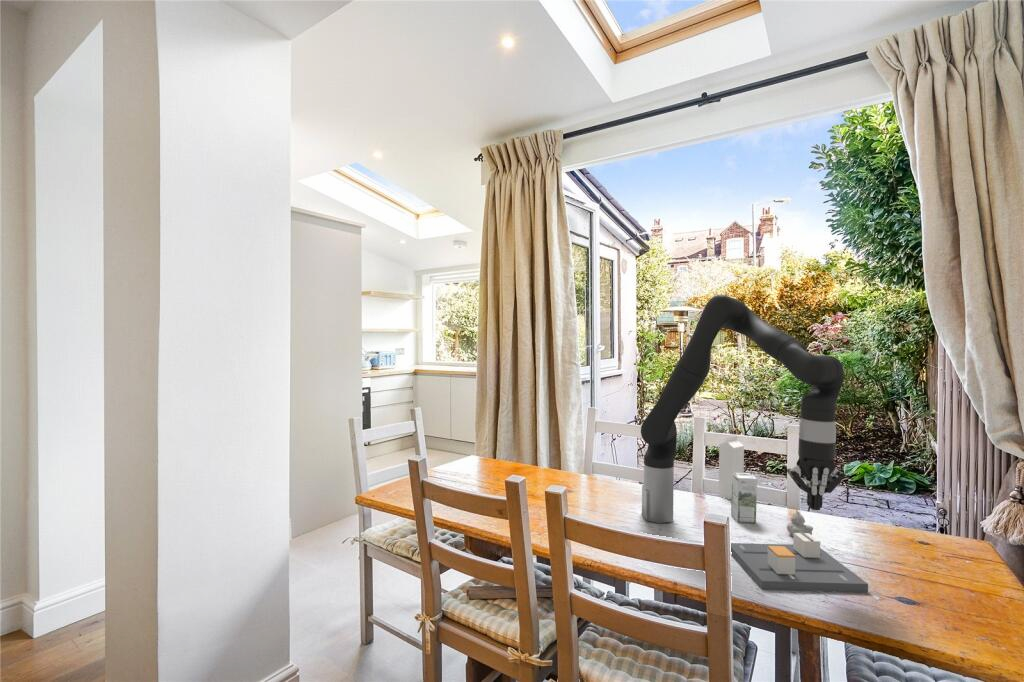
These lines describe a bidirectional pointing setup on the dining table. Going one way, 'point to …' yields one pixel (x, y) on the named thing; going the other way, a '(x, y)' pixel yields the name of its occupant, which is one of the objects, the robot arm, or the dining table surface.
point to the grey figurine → (798, 524)
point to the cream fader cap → (806, 545)
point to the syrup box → (744, 497)
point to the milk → (729, 464)
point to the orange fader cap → (781, 560)
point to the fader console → (797, 571)
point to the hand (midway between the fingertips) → (814, 509)
